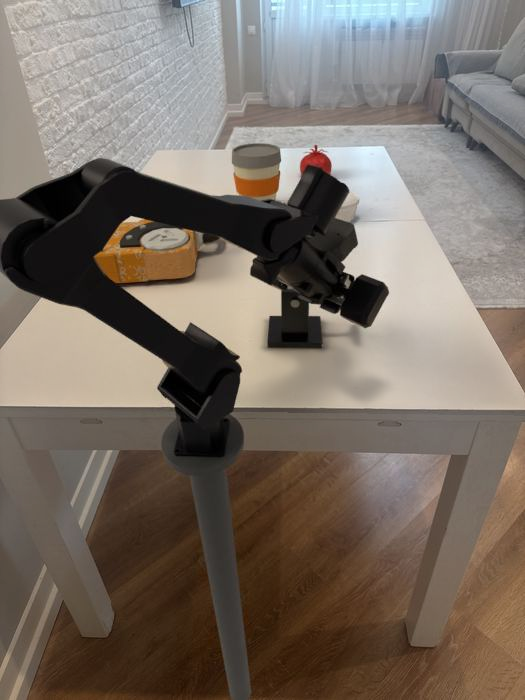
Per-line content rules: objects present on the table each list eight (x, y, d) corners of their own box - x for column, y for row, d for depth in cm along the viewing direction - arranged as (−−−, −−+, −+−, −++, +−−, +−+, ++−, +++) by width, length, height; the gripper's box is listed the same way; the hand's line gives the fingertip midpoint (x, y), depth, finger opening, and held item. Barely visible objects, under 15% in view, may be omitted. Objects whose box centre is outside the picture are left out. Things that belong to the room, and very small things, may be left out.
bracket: (320, 321, 87) (322, 272, 81) (321, 348, 81) (324, 297, 75) (269, 321, 88) (268, 272, 82) (267, 348, 81) (265, 297, 75)
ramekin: (354, 209, 128) (356, 189, 125) (360, 226, 119) (362, 205, 116) (311, 210, 129) (312, 190, 126) (314, 227, 120) (314, 206, 117)
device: (91, 209, 111) (223, 202, 112) (100, 243, 116) (226, 236, 117) (65, 254, 93) (223, 245, 94) (77, 291, 98) (226, 283, 99)
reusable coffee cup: (232, 217, 126) (227, 157, 117) (237, 199, 136) (233, 143, 127) (280, 217, 125) (280, 156, 116) (282, 199, 135) (282, 142, 126)
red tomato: (310, 184, 144) (311, 152, 139) (293, 175, 152) (293, 144, 146) (338, 178, 148) (340, 146, 142) (320, 170, 155) (321, 139, 149)
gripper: (391, 226, 57) (422, 276, 70) (274, 191, 68) (320, 240, 81) (346, 310, 58) (385, 344, 71) (236, 262, 68) (288, 299, 81)
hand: (343, 303), depth 76 cm, fingers closed
